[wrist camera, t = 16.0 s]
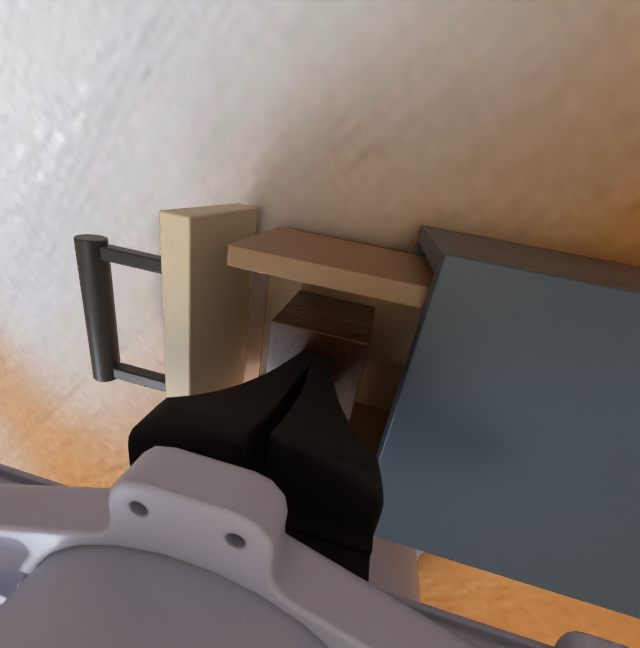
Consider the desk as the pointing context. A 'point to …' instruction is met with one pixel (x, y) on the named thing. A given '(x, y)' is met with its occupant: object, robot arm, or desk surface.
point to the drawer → (234, 301)
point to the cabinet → (521, 419)
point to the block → (324, 338)
